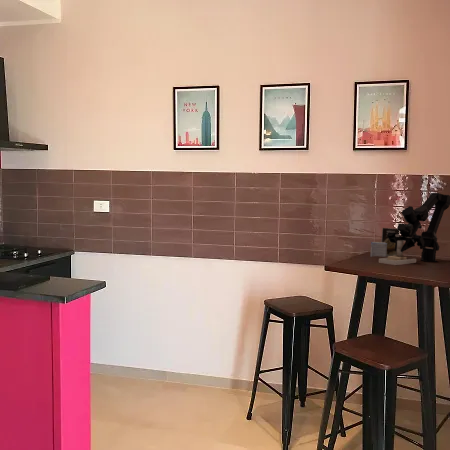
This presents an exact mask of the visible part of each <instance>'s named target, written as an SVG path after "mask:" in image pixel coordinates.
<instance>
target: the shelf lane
mask: <svg viewBox="0 0 450 450" xmlns="http://www.w3.org/2000/svg"><path fill="white" fill-rule="evenodd" d="M379 263H380V264H385V265H390V266H391V265H392V266H401V265H409V264H414V263H417V258H408V259H406V260H398V261H393V260H388V257H382V258H378V264H379Z"/></svg>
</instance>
